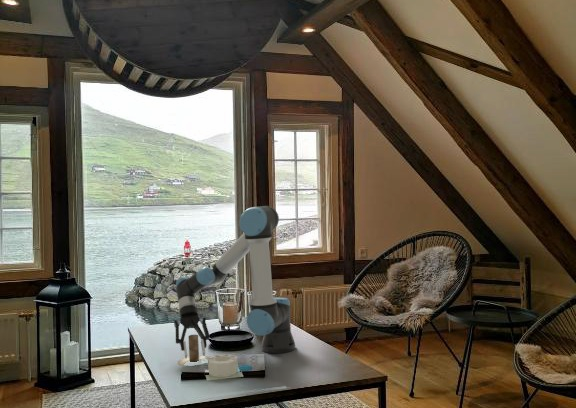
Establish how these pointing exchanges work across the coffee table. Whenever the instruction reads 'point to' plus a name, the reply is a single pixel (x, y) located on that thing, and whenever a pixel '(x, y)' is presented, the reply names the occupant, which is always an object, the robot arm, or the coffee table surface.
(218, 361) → the bowl
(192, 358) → the lid
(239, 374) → the mat
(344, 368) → the coffee table surface
